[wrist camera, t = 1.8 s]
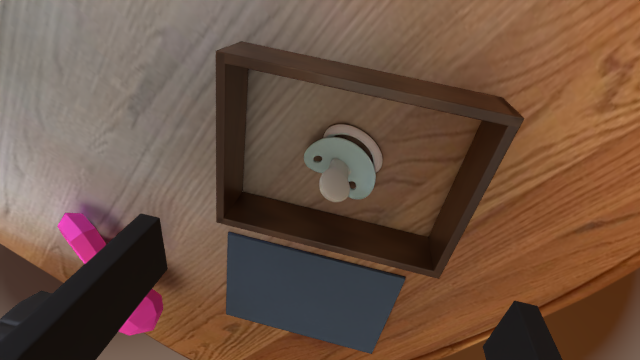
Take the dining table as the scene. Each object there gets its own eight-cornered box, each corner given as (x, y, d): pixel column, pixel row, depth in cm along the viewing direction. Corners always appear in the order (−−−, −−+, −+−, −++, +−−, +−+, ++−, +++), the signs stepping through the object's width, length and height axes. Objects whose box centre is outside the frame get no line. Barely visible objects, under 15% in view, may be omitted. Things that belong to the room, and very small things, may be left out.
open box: (235, 195, 37) (216, 222, 33) (241, 41, 28) (215, 50, 24) (432, 244, 36) (439, 279, 31) (503, 97, 27) (525, 118, 23)
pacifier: (338, 107, 30) (300, 152, 33) (329, 131, 24) (285, 183, 27) (397, 156, 31) (356, 195, 34) (401, 189, 26) (352, 232, 29)
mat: (227, 312, 48) (225, 314, 48) (229, 231, 40) (227, 233, 40) (371, 351, 47) (371, 354, 47) (405, 276, 39) (405, 279, 38)
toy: (108, 184, 41) (7, 232, 34) (195, 298, 41) (111, 367, 34) (109, 208, 49) (28, 251, 42) (183, 304, 49) (112, 360, 42)
